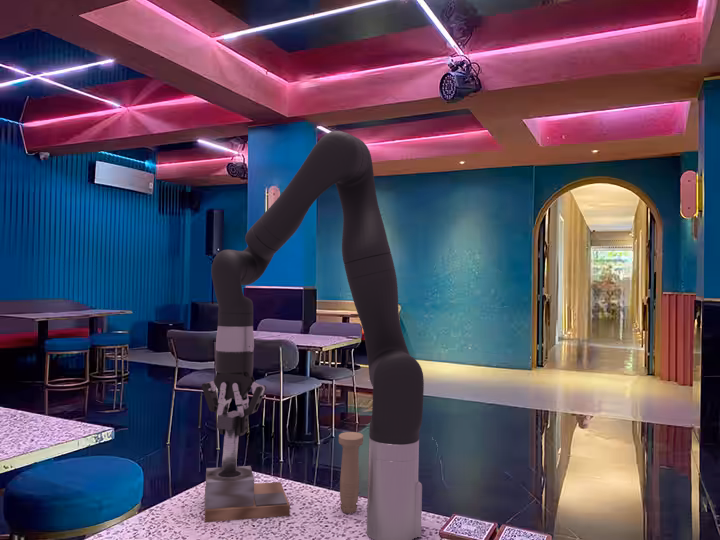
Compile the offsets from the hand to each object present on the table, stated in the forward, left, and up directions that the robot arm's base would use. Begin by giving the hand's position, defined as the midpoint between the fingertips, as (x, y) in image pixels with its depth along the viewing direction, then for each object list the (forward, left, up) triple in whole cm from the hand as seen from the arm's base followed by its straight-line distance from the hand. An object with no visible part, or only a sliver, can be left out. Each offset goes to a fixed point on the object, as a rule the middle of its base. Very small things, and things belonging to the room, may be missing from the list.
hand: (232, 433), depth 111 cm
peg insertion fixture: (-3, -1, -15) cm, 15 cm away
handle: (-23, +6, -15) cm, 28 cm away
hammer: (0, 0, -7) cm, 7 cm away
